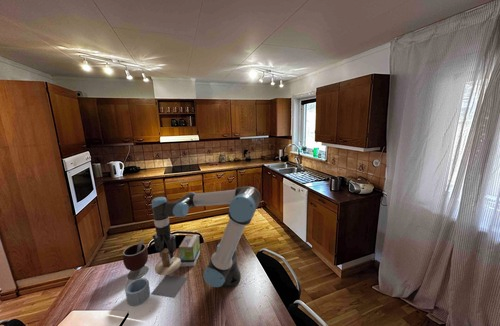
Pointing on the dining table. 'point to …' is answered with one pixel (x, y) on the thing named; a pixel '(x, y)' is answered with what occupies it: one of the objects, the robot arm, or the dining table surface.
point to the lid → (167, 264)
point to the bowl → (137, 291)
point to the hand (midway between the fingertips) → (167, 261)
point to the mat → (169, 286)
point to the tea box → (189, 250)
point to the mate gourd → (136, 260)
